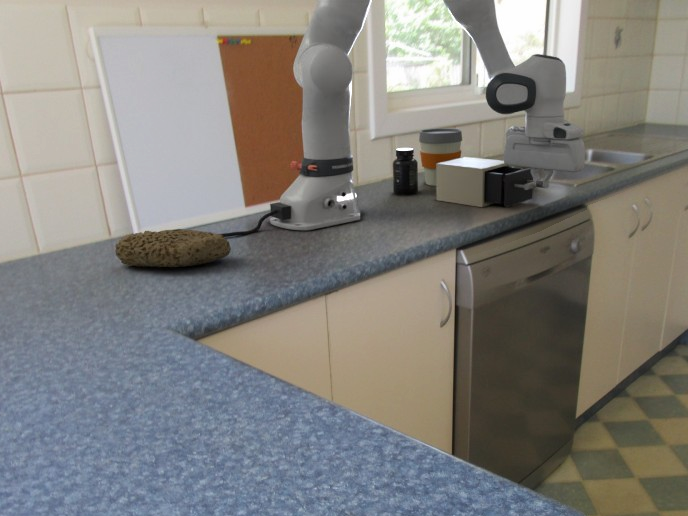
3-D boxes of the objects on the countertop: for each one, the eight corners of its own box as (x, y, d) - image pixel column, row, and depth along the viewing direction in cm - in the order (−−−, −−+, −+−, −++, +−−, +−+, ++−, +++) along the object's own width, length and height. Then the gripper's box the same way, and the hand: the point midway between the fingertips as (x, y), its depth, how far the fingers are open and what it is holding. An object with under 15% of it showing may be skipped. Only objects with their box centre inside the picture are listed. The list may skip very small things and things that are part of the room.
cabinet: (509, 198, 174) (511, 161, 171) (482, 207, 165) (482, 168, 162) (464, 192, 183) (465, 156, 180) (436, 200, 174) (436, 163, 171)
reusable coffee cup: (426, 188, 189) (425, 134, 184) (415, 180, 201) (413, 129, 195) (467, 185, 192) (468, 132, 187) (454, 177, 203) (454, 127, 198)
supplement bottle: (388, 193, 185) (387, 149, 180) (407, 189, 188) (406, 146, 184) (403, 196, 179) (402, 151, 175) (423, 193, 183) (422, 149, 179)
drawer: (547, 200, 166) (548, 169, 163) (523, 209, 158) (524, 176, 155) (488, 192, 177) (489, 163, 174) (463, 200, 169) (463, 169, 167)
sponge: (114, 277, 125) (197, 265, 117) (105, 236, 124) (189, 221, 116) (163, 269, 137) (242, 257, 129) (156, 231, 136) (235, 217, 128)
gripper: (499, 127, 159) (497, 184, 164) (577, 132, 146) (572, 194, 151) (513, 124, 163) (511, 180, 168) (590, 129, 150) (585, 189, 155)
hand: (541, 187), depth 160 cm, fingers closed
